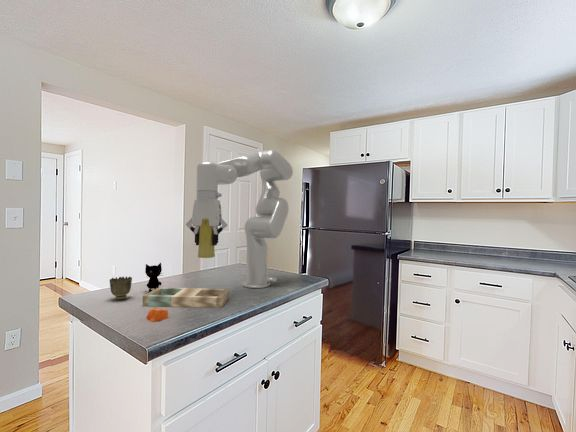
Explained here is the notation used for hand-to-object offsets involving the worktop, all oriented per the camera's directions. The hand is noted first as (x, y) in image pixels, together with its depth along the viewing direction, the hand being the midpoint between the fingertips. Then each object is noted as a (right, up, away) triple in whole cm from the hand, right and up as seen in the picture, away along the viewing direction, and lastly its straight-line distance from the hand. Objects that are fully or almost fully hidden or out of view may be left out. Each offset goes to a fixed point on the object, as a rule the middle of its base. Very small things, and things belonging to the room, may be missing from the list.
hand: (206, 244), depth 108 cm
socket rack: (-7, -21, 0) cm, 22 cm away
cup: (-33, -21, +2) cm, 39 cm away
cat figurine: (-26, -21, +13) cm, 36 cm away
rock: (-11, -22, -16) cm, 30 cm away
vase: (0, -5, 0) cm, 5 cm away
